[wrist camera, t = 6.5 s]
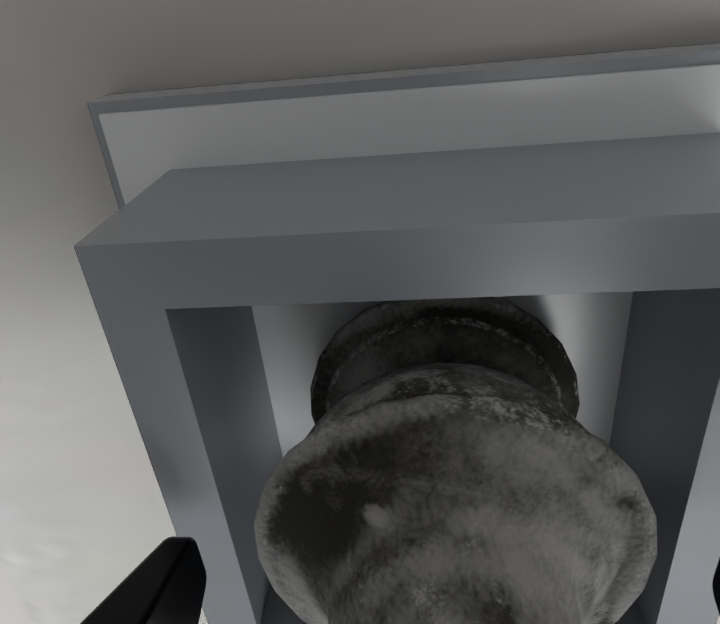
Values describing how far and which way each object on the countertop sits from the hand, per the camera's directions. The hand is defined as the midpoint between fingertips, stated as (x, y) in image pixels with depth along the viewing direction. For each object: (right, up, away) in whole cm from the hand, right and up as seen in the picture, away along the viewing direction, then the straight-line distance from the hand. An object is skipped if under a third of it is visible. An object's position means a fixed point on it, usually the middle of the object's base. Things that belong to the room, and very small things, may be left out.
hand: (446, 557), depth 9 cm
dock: (0, +3, +5) cm, 5 cm away
